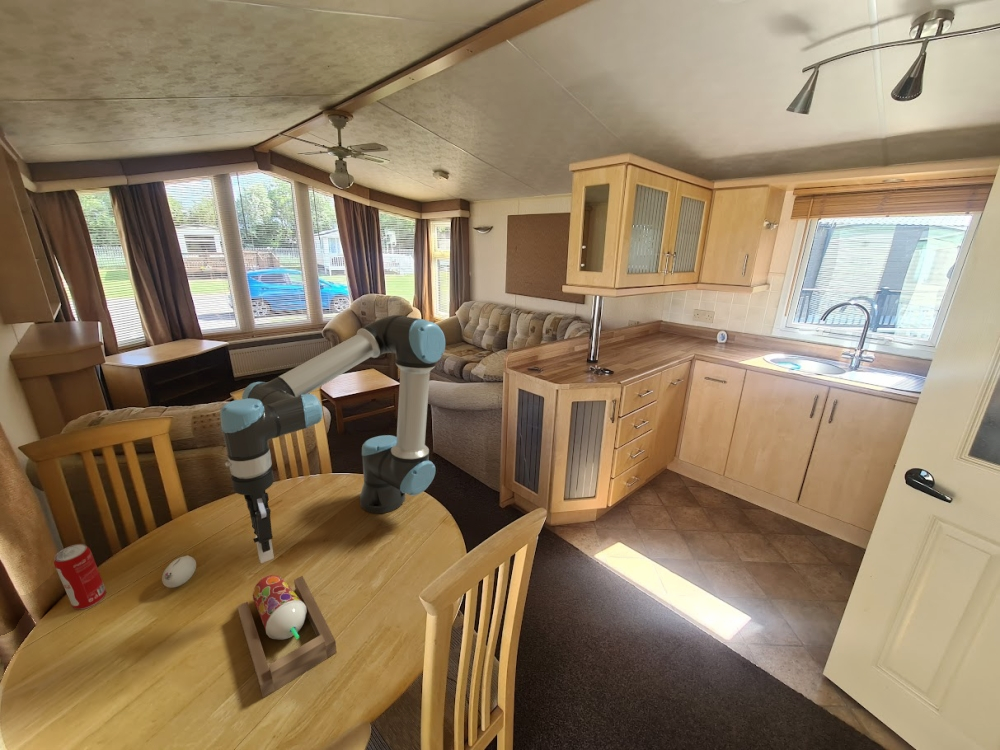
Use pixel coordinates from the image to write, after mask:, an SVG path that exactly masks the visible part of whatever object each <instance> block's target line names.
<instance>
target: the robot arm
mask: <svg viewBox="0 0 1000 750" xmlns="http://www.w3.org/2000/svg"><path fill="white" fill-rule="evenodd" d="M445 337H446V336H445V334H444V332H443V330H442V329H441V327H440V326H439V325H438V324H437V323H435V322H434V321H433V322H432V321H430V320H427V319H422V318H417V317H411V316H405V315H402V314H401V315H399V314H393V315H388V316H385V317H382V318H380V319H377V320H375V321H373V322H370V323H369V324H366V325H364V326H363V327H361V328H359V329H358V330H357V332H356V334H355V335H353V336H352V337H350V338H348V339H346V340H344V341H342V342H340V343H339V344H336V345H334V346H333V347H331V348H329V349H328V350H325V351H323V352H322V353H320V354H317V355H316V356H314V357H313V358H311V359H309V360H307V361H305V362H303V363H302V364H300V365H297V366H296V367H294V368H292V369H290V370H288V371H286V372H285V373H283V374H281V375H278V377H275V378H273V379H271V380H270V381H267V382H265V381H256V382H252V383H250V384H249V385H247V386H246V387H245V389H243V392H242V395H241V399H235V400H232V401H229V402H227V403H225V404H224V405H223V406H222V407H220V408H221V409H220V412H219V414H220V415H219V417H220V429H221V432H222V435H223V440H224V445H225V450H226V454H227V460H228V461H226V462H225V463H224V464H225V465H224V466H225V467H229V471H230V475H231V476H230V478H231V482H232V489H233V492H234V493H236V494H238V495H242V496H243V498H244V499H245V500H244V501H245V502H246V506H247V510H248V511H249V515H250V522H251V528H252V529H253V530H254V532H253V533H254V535H255V538H253V539H252V540H253V543H254V544H256V549H257V554H258V561H259V563H260V564H264V563H266V562H268V561H271V560H272V559H275V556H274V555H275V554H274V550H273V549H274V548H273V544H272V540H273V531H272V521H271V512H272V511H271V509H270V508H269V499H270V498H269V493H268V492H267V491H266V490H267V489H269V488H270V487H272V485H273V484H274V481H275V478H274V471H273V466H272V465H273V463H272V455H271V450H270V444H269V441H270V440H272V439H273V440H274V439H275V438H276V439H277V438H279V437H282V436H286V435H289V434H291V433H295V432H298V431H301V430H304V429H308V428H309V427H312V426H315V425H316V424H318V423H320V422H321V421H322V419H323V415H324V414H323V406H322V403H321V402H320V400H319V398H318V397H317V395H315V394H312V392H314V391H316V390H318V389H319V388H321V387H322V386H324V385H326V384H327V383H329V382H331V381H332V380H334V379H336V378H338V377H340V376H341V375H342V374H344V373H346V372H347V371H349V370H351V369H352V368H355V367H356V366H357V365H359V364H361V363H363V362H364V361H366V360H369V359H370V358H373V359H375V358H378V357H380V356H381V355H383V354H389V353H390V354H392V353H393V354H395V365H396V367H398V369H399V370H400V372H399V374H400V375H399V389H398V390H399V391H398V407H397V408H398V409H397V423H396V427H397V428H396V436H395V435H389V434H387V435H386V434H384V435H378V436H374V437H371V438H369V439H367V440H365V441H364V442H363V444H362V447H361V458H362V459H361V460H362V471H363V485H362V489H361V491H360V495H359V505H360V507H361V508H362V510H364V511H366V512H367V513H371V514H385V513H390V512H392V511H395V510H397V509H398V508H400V507H401V506H402V505H403V504H404V503H405V501H406V495H408V496H417V495H420V494H422V493H423V492H425V491H426V490H427V489H428V487H429V486H430V485H431V484H432V483H433V480H434V478H435V475H436V466H435V464H434V463H433V462H432V461H431V460H429V457H430V449H429V447H428V446H427V445H426V430H427V417H428V401H429V387H430V374H431V371H432V370H433V369H434V368H436V365H437V362H438V361H440V359H441V358H442V355H444V353H445V350H446V338H445ZM403 502H404V503H403ZM402 503H403V504H402ZM401 504H402V505H401ZM400 505H401V506H400ZM399 506H400V507H399ZM396 508H397V509H396ZM394 509H395V510H394Z"/></svg>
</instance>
